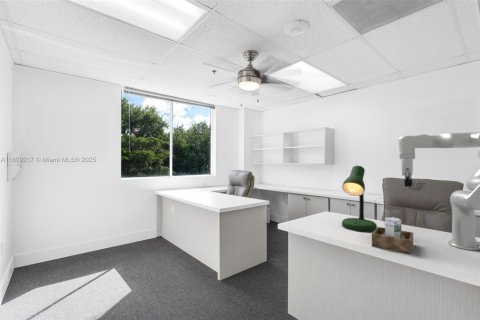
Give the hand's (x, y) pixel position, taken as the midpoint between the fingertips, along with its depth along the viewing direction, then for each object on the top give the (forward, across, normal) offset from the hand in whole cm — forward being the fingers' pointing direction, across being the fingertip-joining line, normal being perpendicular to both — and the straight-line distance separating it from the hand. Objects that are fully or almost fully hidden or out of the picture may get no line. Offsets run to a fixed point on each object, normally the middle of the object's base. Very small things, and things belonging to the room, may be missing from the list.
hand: (408, 185), depth 138 cm
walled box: (+33, +12, -8) cm, 36 cm away
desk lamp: (+33, -12, -31) cm, 47 cm away
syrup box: (+32, +12, -8) cm, 35 cm away
